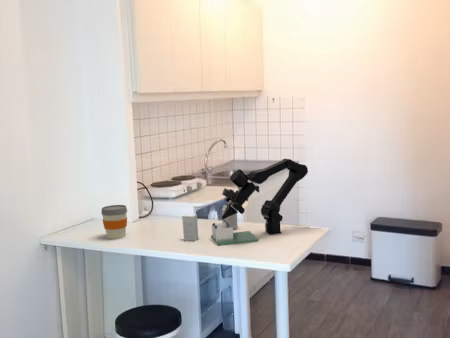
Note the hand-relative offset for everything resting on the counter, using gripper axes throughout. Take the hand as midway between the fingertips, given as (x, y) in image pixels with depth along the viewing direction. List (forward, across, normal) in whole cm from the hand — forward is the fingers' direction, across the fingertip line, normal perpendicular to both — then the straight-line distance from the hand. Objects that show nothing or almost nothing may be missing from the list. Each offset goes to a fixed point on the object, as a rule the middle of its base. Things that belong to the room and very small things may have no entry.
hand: (222, 218), depth 242 cm
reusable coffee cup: (+43, -27, -27) cm, 57 cm away
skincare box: (+18, -7, -2) cm, 19 cm away
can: (+2, -20, +13) cm, 24 cm away
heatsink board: (+4, 0, +11) cm, 12 cm away
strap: (0, 0, +1) cm, 1 cm away
